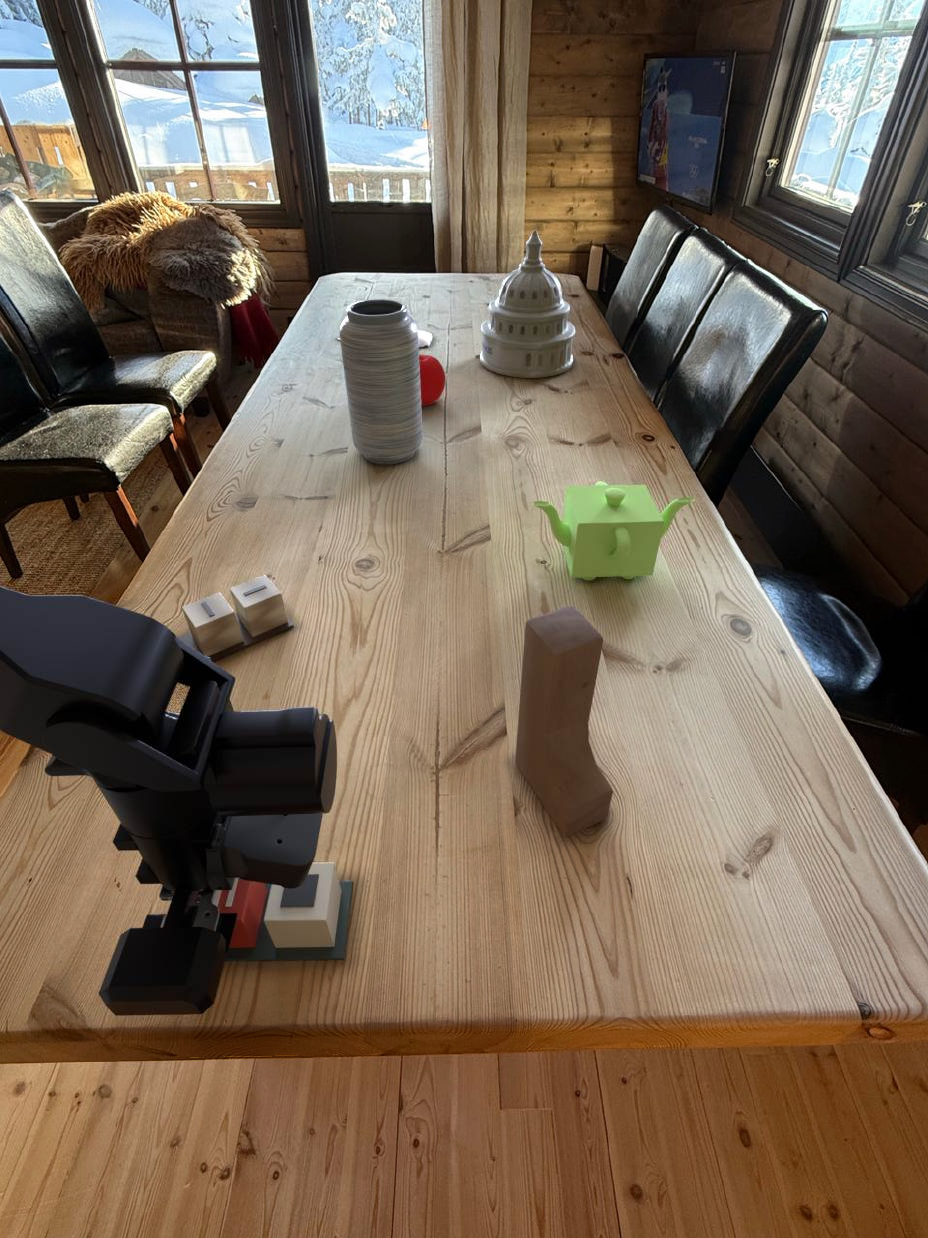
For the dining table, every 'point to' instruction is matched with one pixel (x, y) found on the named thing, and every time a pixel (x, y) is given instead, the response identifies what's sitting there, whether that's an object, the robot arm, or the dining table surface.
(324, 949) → the white cube on base
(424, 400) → the fruit
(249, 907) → the white-striped red block
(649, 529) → the teapot
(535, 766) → the wooden block
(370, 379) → the vase
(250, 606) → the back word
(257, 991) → the dining table surface
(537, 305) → the dome
